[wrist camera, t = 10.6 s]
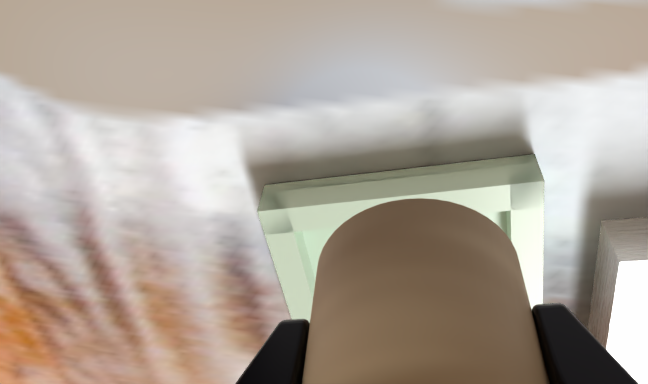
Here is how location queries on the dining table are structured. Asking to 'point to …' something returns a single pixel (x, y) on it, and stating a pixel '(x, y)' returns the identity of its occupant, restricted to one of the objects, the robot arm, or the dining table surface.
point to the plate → (622, 294)
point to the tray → (380, 187)
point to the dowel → (421, 301)
